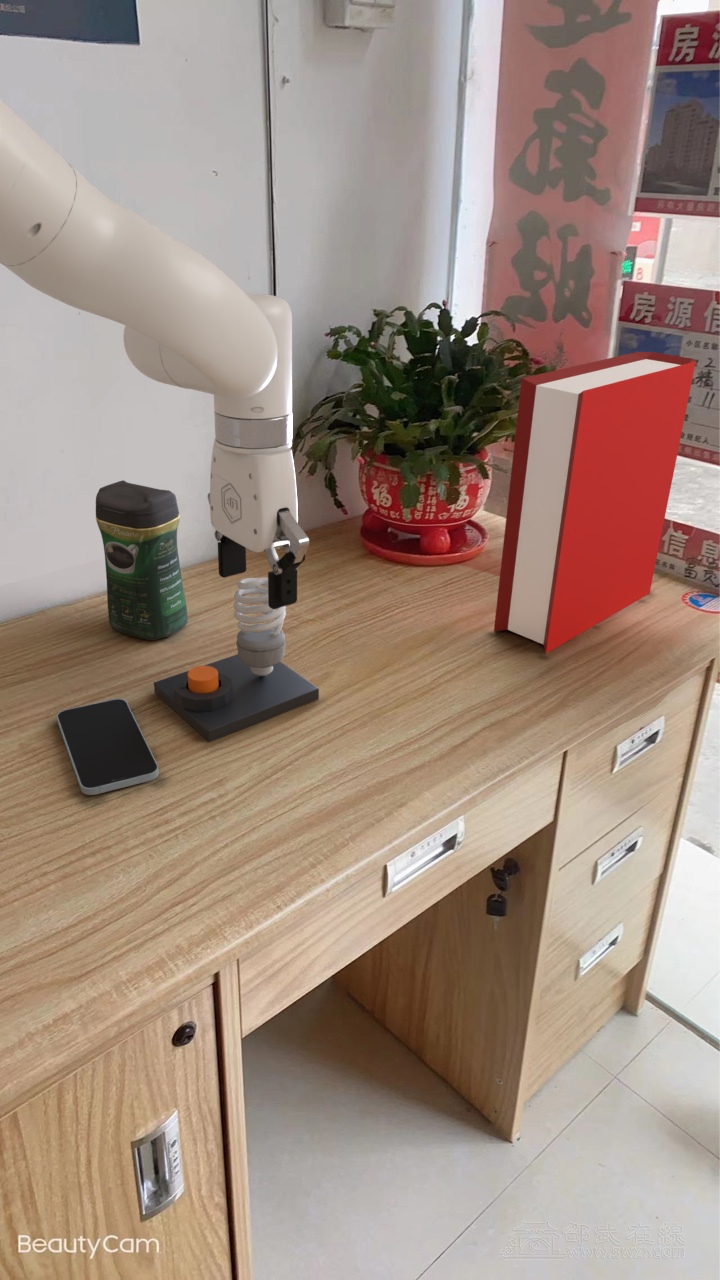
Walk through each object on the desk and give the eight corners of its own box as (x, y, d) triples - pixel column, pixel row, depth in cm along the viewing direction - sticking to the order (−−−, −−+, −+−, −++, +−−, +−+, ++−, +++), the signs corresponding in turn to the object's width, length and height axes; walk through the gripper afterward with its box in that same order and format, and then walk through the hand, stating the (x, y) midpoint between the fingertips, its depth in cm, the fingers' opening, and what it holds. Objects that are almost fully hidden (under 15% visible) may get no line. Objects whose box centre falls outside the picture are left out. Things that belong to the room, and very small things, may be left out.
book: (545, 653, 109) (583, 390, 94) (493, 631, 114) (521, 378, 99) (654, 590, 126) (701, 359, 111) (605, 573, 131) (643, 350, 116)
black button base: (208, 742, 90) (207, 718, 89) (154, 693, 98) (151, 670, 97) (319, 699, 98) (319, 675, 97) (259, 656, 106) (259, 634, 105)
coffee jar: (198, 623, 114) (189, 484, 105) (157, 648, 108) (143, 503, 99) (141, 605, 118) (127, 470, 109) (98, 629, 112) (80, 487, 103)
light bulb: (290, 664, 102) (288, 569, 96) (284, 690, 97) (282, 591, 91) (241, 662, 102) (237, 567, 97) (233, 687, 97) (227, 588, 92)
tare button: (198, 698, 93) (197, 683, 92) (183, 685, 95) (182, 671, 94) (224, 688, 95) (223, 674, 94) (209, 676, 97) (208, 662, 96)
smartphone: (125, 696, 96) (161, 771, 84) (125, 703, 96) (162, 779, 85) (54, 711, 93) (82, 791, 81) (55, 719, 93) (83, 799, 82)
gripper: (176, 416, 90) (185, 570, 98) (270, 456, 78) (272, 628, 86) (239, 407, 94) (243, 556, 102) (337, 444, 83) (333, 609, 90)
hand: (256, 589), depth 94 cm, fingers open, 9 cm apart
